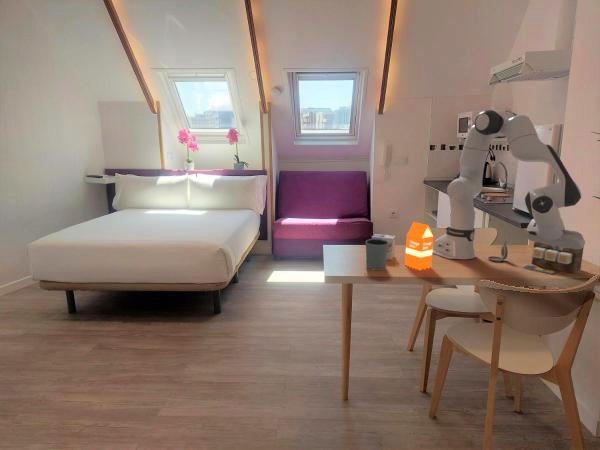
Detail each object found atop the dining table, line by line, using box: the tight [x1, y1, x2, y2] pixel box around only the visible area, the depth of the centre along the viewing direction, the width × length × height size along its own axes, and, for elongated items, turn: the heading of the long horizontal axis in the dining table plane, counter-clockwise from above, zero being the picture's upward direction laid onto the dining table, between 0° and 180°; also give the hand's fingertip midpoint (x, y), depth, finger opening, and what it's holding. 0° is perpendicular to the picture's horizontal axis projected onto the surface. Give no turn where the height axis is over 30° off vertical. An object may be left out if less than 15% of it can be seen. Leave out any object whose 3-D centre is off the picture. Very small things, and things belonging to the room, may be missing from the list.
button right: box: [557, 251, 574, 264], centre depth 178 cm, size 4×7×4 cm, turn 128°
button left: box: [531, 246, 548, 259], centre depth 186 cm, size 4×7×4 cm, turn 128°
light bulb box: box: [371, 233, 396, 261], centre depth 200 cm, size 11×7×11 cm, turn 68°
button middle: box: [545, 249, 560, 261], centre depth 182 cm, size 4×7×4 cm, turn 128°
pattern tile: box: [522, 264, 558, 276], centre depth 181 cm, size 12×5×1 cm, turn 38°
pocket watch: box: [487, 240, 508, 263], centre depth 194 cm, size 8×8×10 cm
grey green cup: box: [365, 238, 388, 271], centre depth 184 cm, size 10×10×12 cm
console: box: [531, 241, 585, 274], centre depth 185 cm, size 17×8×10 cm, turn 38°
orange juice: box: [404, 221, 434, 271], centre depth 184 cm, size 8×9×20 cm
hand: (558, 248), depth 170 cm, fingers closed
